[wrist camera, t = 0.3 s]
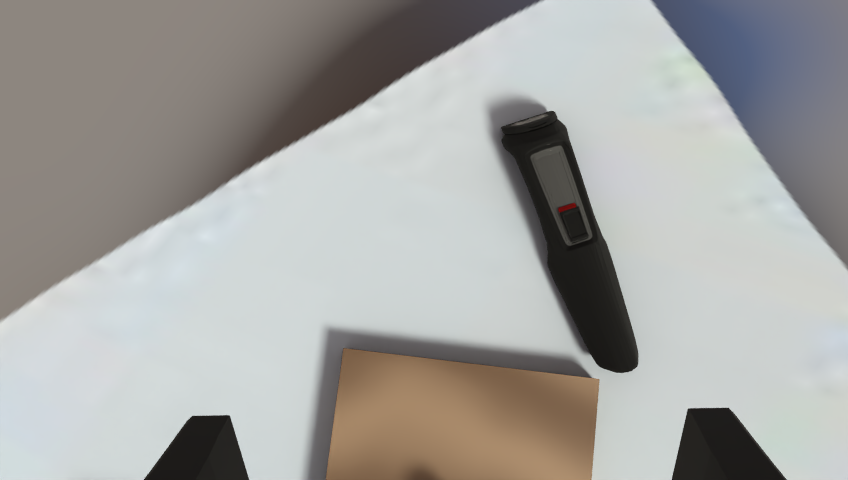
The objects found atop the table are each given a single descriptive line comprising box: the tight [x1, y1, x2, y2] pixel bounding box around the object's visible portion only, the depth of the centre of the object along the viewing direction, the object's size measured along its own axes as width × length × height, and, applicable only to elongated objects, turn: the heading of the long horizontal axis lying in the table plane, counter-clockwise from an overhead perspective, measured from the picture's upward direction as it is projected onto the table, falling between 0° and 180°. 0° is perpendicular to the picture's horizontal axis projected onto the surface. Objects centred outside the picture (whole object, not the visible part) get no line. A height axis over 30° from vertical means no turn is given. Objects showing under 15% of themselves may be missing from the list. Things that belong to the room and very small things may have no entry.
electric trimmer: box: [501, 111, 638, 373], centre depth 41 cm, size 4×16×3 cm, turn 18°
